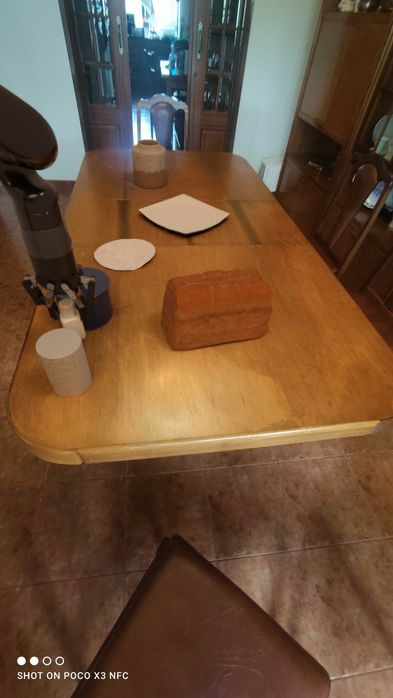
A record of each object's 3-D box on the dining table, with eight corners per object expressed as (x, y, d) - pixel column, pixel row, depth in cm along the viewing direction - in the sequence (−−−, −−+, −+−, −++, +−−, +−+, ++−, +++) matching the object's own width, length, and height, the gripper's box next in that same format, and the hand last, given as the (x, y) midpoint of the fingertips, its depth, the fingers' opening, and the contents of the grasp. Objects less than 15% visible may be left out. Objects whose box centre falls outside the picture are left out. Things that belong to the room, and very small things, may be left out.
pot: (67, 336, 78) (57, 305, 71) (58, 305, 86) (49, 275, 79) (118, 323, 82) (113, 293, 75) (105, 295, 90) (100, 266, 83)
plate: (133, 216, 126) (132, 209, 124) (183, 198, 141) (183, 192, 139) (185, 243, 114) (185, 236, 112) (233, 220, 129) (234, 214, 127)
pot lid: (56, 309, 71) (49, 289, 67) (47, 276, 79) (40, 256, 75) (116, 296, 76) (114, 276, 72) (102, 266, 84) (99, 247, 80)
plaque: (167, 251, 108) (167, 247, 107) (127, 278, 96) (127, 274, 95) (123, 235, 116) (123, 232, 115) (81, 259, 104) (80, 255, 103)
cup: (44, 392, 66) (26, 353, 58) (65, 363, 72) (50, 324, 63) (80, 401, 65) (67, 363, 57) (98, 371, 71) (88, 333, 62)
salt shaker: (87, 338, 72) (78, 305, 65) (69, 344, 71) (58, 311, 64) (82, 327, 74) (73, 295, 68) (64, 333, 73) (53, 300, 66)
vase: (170, 180, 155) (170, 140, 143) (159, 191, 145) (159, 149, 133) (141, 175, 158) (139, 135, 146) (128, 185, 147) (125, 144, 135)
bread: (270, 338, 82) (286, 290, 72) (170, 354, 76) (171, 305, 65) (249, 304, 91) (261, 258, 81) (158, 317, 85) (157, 268, 74)
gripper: (-1, 256, 53) (31, 330, 65) (87, 257, 55) (102, 330, 67) (13, 234, 58) (40, 307, 71) (93, 236, 60) (106, 307, 72)
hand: (70, 318), depth 69 cm, fingers closed on salt shaker, 5 cm apart
